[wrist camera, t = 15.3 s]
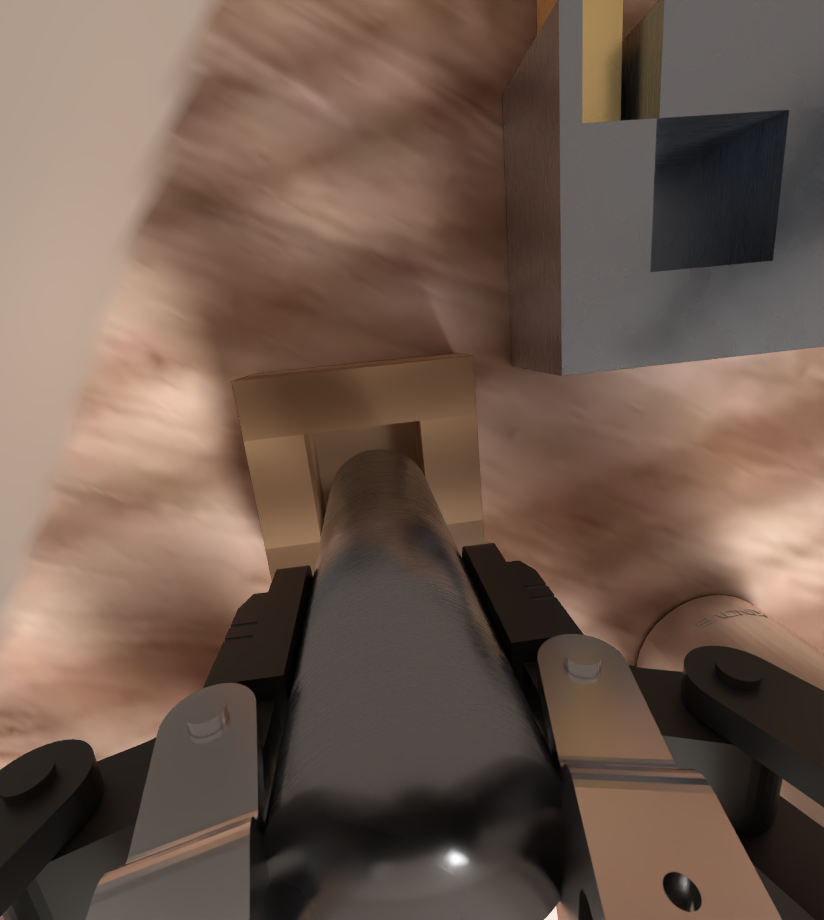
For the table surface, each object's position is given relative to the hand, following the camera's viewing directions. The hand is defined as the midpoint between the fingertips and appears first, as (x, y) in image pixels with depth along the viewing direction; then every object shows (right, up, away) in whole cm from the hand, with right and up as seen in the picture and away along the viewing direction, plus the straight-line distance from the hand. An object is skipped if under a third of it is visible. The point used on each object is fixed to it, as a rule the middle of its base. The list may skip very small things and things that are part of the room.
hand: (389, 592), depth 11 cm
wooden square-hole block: (-2, +3, +13) cm, 14 cm away
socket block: (+11, +14, +12) cm, 22 cm away
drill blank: (-1, +2, +6) cm, 6 cm away
